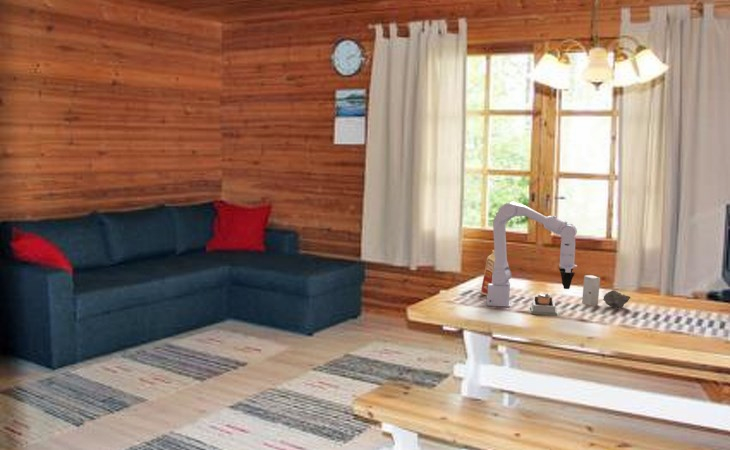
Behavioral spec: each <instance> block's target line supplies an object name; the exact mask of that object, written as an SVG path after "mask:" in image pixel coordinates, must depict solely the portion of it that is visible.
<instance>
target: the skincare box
mask: <svg viewBox="0 0 730 450" xmlns="http://www.w3.org/2000/svg"><path fill="white" fill-rule="evenodd" d="M600 284H601V277H598V276H596V275H592V274H591V275H590V274H589V275H584V276H583V287H582V300H581V302H582V303H583V304H585V305H588V306H598V305H599V295H600V287H601V285H600Z"/></svg>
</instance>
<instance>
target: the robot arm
mask: <svg viewBox="0 0 730 450" xmlns="http://www.w3.org/2000/svg"><path fill="white" fill-rule="evenodd" d="M515 217H527V218H529V219H531V220H534V221H535V222H537V223H540V224H542V225H543V228H544V229H546V230H548V231H549V232H552V233H554V234H555V235H558V236H559V235H560V237H561V242H560V252H559V264H558V266H559V267H558V270H559V272H560V277H561V278H560V279H561V285H562V287H563V290H570V288H571V284H572V280H573V278H574V276H575V275H576V273H575V272H573V270H574V268H578V265H577V264H575V260H576V259H575V257H576V256H575V255H576V254H575V253H576V235H577V232H578V231H577V230H578V229H577V228H576V226H575V225H573V224H572V223H568V221H562V220H561V219H559V218H557V216H556V215H553V216H552V215H549V216H545V215H544V214H542V213H540V212H538V211H536V210H534V209H533V208H531V207H528V206H527V205H524V204H522V203H519V202H516V201H514V200H513V201H510V202H505V203H504V204H502V206H500V207H499V208H498V211H497V213H496V214H495V216H494V218H493V220H492V229H493V231H492V232H493V245H494V246H493V247H494V249H493V250H494V251H495V264H494V272H493V274H492V280H493V283H492V284H488V296H487V295H486V301H487V304H486V306H489V307H490V306H493V307H504V308H505V307H507V308H510V307H511V302H510V295H511V294H510V290H511V282H510V279H511V278H512V271H511V270H510V266H509V265H510V264H509V262H508V255H507V234H506V225H507V223H508V222H509V221H510V220H511V219H513V218H515Z"/></svg>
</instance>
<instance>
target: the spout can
mask: <svg viewBox="0 0 730 450" xmlns="http://www.w3.org/2000/svg"><path fill="white" fill-rule="evenodd" d="M537 296H538V305H545V306H549V298H550V297H551V296H550V295H549V293H544V294H543V293H539V294H537Z"/></svg>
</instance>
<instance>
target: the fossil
mask: <svg viewBox="0 0 730 450" xmlns="http://www.w3.org/2000/svg"><path fill="white" fill-rule="evenodd" d="M630 299H631V296H630V295H625V294H623V293H621V292H619V291H617V290H615V289H614V290H610V291H608V292H606V293H605V294H604V296H603V301H604V303H605V304H606V305H608V306H609V307H611V308H615V309H622V308H624V306H625V305H626V304H627V303H628V302H629V301H630Z"/></svg>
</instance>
